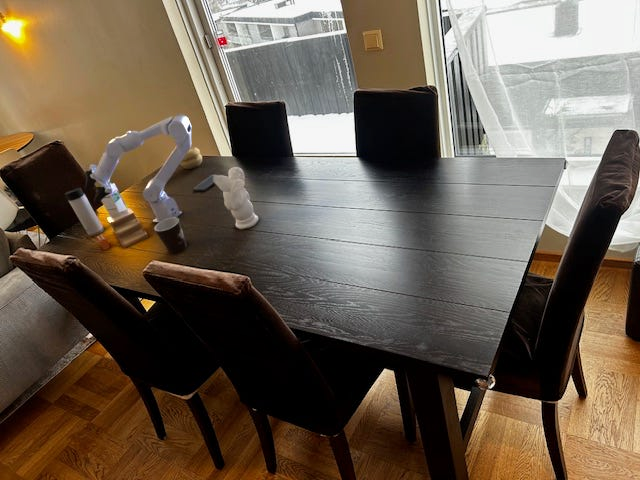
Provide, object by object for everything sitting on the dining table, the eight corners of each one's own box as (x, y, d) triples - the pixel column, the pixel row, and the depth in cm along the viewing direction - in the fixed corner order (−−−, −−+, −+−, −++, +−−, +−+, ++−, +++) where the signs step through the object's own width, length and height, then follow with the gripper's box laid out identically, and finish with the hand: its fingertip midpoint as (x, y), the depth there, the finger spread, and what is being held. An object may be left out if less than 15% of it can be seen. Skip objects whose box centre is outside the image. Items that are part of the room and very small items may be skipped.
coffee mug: (177, 257, 153) (165, 232, 147) (161, 253, 157) (149, 229, 152) (200, 238, 160) (190, 214, 155) (184, 235, 165) (174, 212, 160)
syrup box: (122, 218, 192) (106, 188, 184) (111, 220, 193) (95, 190, 186) (130, 212, 196) (114, 182, 189) (118, 213, 198) (103, 183, 190)
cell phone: (224, 176, 206) (224, 174, 206) (205, 190, 197) (204, 189, 196) (213, 175, 210) (212, 174, 209) (193, 190, 200) (192, 188, 200)
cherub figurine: (252, 213, 168) (233, 159, 156) (272, 220, 159) (253, 163, 148) (226, 229, 162) (204, 174, 150) (245, 237, 153) (224, 179, 142)
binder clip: (110, 247, 171) (104, 237, 168) (104, 250, 170) (98, 240, 167) (108, 243, 174) (102, 233, 172) (102, 246, 173) (96, 236, 171)
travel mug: (89, 238, 182) (63, 195, 172) (88, 232, 188) (63, 190, 177) (104, 232, 184) (80, 189, 174) (103, 226, 189) (79, 184, 179)
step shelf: (148, 237, 171) (141, 222, 168) (124, 248, 167) (116, 234, 164) (137, 221, 186) (130, 207, 183) (114, 231, 182) (106, 217, 179)
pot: (178, 173, 225) (170, 154, 220) (187, 163, 234) (180, 145, 229) (199, 169, 222) (191, 151, 217) (207, 160, 231) (200, 141, 226)
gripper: (87, 154, 169) (73, 182, 174) (104, 178, 163) (90, 207, 168) (104, 156, 175) (91, 183, 180) (122, 180, 169) (107, 207, 174)
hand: (92, 195), depth 174 cm, fingers open, 7 cm apart
